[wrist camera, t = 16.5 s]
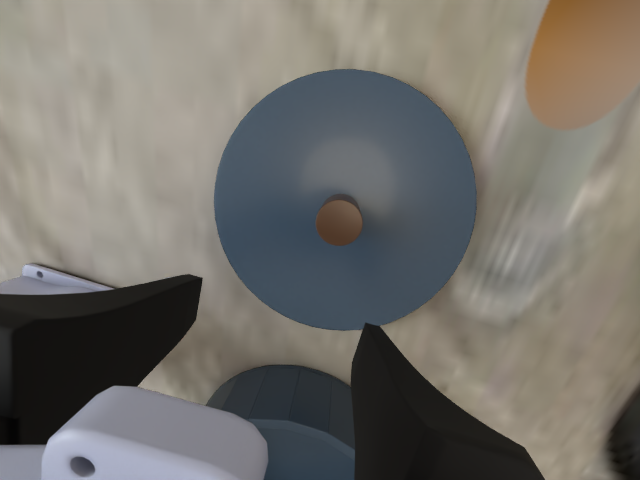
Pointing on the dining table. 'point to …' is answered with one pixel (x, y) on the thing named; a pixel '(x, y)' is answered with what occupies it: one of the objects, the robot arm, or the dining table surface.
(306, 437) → the pot
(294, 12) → the dining table surface
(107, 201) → the dining table surface
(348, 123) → the pot lid
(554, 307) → the dining table surface
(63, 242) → the dining table surface
